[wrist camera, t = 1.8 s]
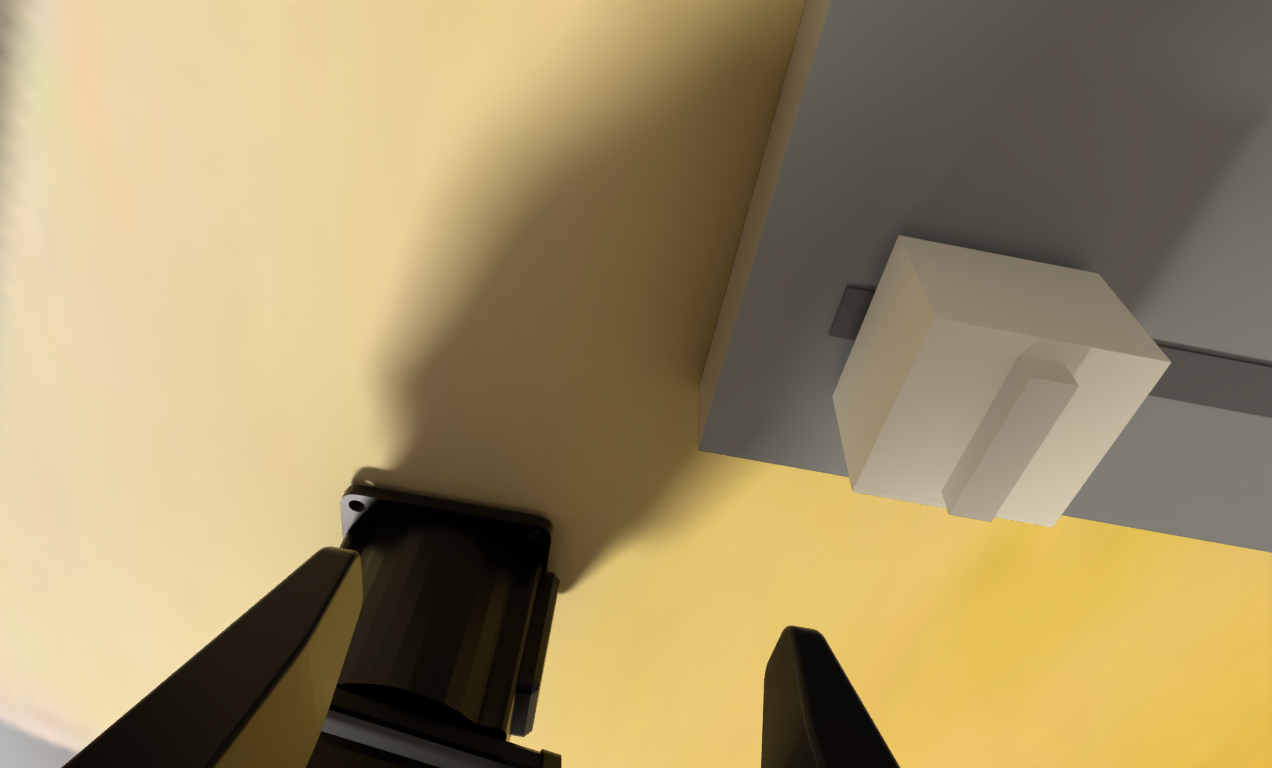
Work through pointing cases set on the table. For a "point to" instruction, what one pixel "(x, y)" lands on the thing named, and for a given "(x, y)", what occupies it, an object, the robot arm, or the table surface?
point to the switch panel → (1023, 223)
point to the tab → (989, 382)
